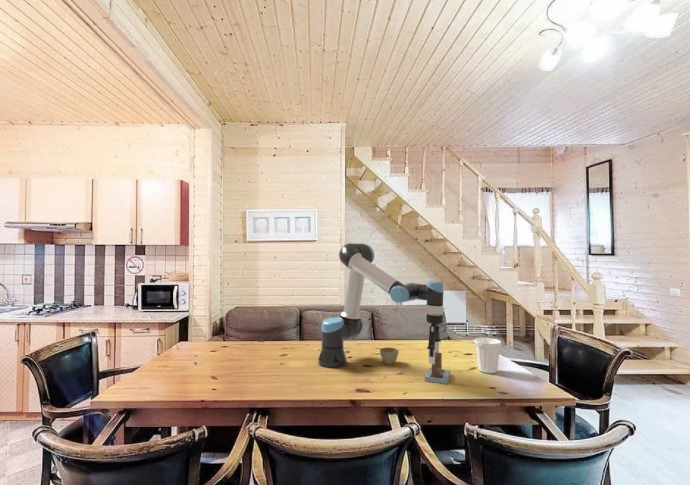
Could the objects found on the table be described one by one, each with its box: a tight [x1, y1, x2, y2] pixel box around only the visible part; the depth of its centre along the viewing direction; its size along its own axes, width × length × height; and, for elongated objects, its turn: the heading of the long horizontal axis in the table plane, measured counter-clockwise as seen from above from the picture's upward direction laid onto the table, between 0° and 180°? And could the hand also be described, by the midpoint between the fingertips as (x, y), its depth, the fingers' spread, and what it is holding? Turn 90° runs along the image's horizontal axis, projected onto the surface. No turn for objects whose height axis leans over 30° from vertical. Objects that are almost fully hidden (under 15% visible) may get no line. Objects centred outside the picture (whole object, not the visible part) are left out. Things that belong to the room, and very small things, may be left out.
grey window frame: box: [424, 367, 451, 385], centre depth 169 cm, size 10×14×2 cm
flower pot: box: [379, 346, 400, 366], centre depth 191 cm, size 10×10×7 cm
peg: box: [431, 352, 443, 378], centre depth 166 cm, size 4×4×12 cm
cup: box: [474, 337, 502, 375], centre depth 179 cm, size 12×12×15 cm
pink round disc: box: [393, 370, 404, 375], centre depth 176 cm, size 5×5×1 cm
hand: (433, 359), depth 168 cm, fingers open, 13 cm apart
